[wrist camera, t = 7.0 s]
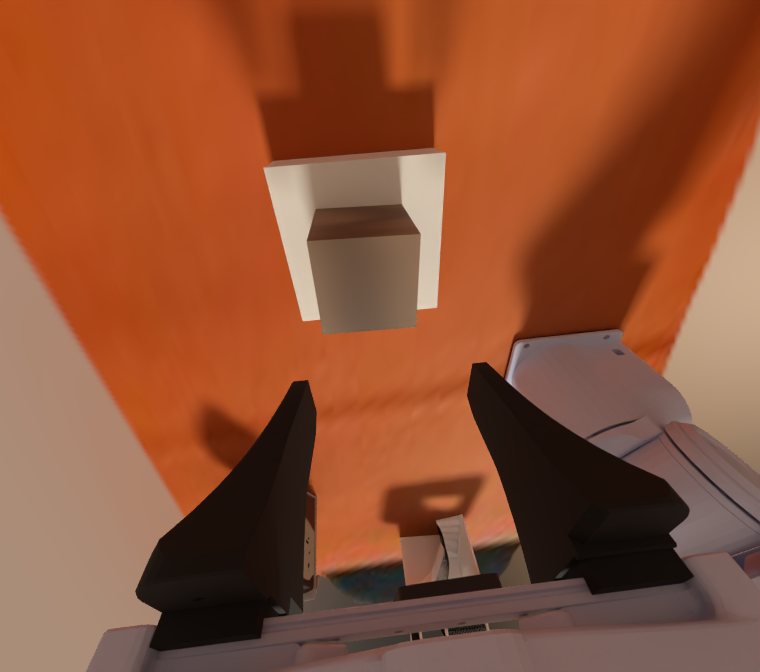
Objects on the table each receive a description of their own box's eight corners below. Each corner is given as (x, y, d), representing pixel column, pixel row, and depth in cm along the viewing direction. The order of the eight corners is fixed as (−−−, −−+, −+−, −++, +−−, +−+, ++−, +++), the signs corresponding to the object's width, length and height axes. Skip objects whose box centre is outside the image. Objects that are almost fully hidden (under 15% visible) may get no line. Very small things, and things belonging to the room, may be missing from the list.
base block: (432, 146, 18) (445, 152, 15) (427, 286, 23) (436, 307, 20) (274, 159, 17) (263, 167, 15) (307, 298, 23) (302, 321, 20)
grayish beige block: (401, 204, 16) (420, 234, 12) (401, 281, 19) (416, 326, 15) (315, 209, 16) (306, 241, 12) (327, 287, 19) (322, 334, 15)
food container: (213, 479, 34) (173, 590, 26) (253, 459, 33) (224, 571, 25) (287, 516, 41) (273, 613, 33) (323, 501, 40) (318, 599, 32)
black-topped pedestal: (544, 474, 42) (612, 599, 31) (489, 549, 57) (522, 650, 46) (338, 484, 38) (335, 628, 28) (339, 561, 54) (337, 673, 43)
